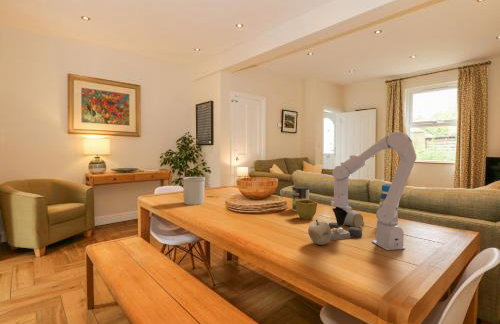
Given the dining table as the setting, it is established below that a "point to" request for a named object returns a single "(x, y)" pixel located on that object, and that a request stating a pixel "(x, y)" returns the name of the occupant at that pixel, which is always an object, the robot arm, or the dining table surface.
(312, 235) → the decorative object
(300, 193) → the coffee can
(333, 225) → the cord coil
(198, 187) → the utensil holder
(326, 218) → the dining table surface
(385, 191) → the beverage bottle
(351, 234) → the cord coil
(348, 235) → the grey egg carton
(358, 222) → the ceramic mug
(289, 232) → the dining table surface
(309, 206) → the flower pot
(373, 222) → the dining table surface
